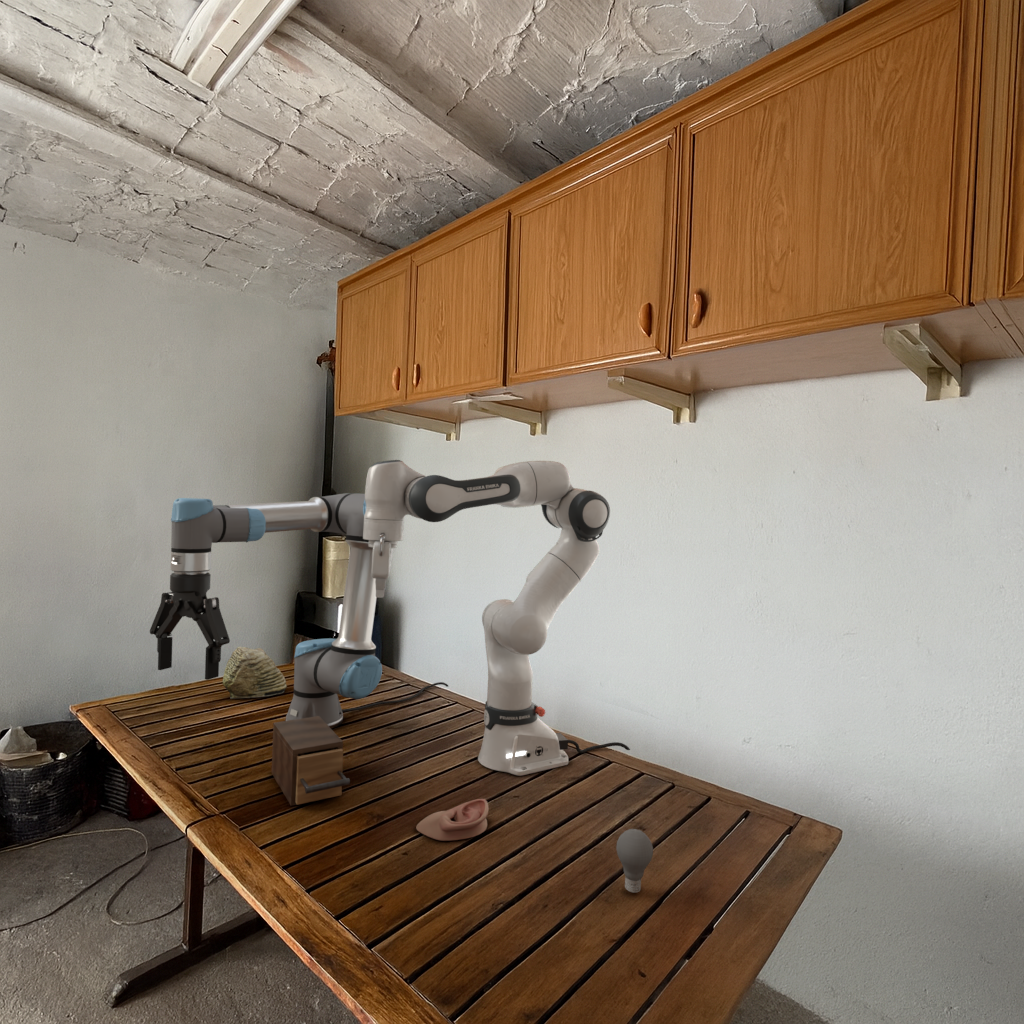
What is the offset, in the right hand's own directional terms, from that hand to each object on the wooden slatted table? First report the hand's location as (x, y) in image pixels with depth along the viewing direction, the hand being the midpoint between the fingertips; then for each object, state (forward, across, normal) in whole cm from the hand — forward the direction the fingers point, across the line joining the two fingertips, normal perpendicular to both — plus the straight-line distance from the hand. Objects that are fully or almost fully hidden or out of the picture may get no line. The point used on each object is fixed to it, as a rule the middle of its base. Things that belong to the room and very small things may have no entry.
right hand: (380, 593), depth 142 cm
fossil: (+42, +63, +39) cm, 86 cm away
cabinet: (+42, 0, +14) cm, 45 cm away
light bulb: (+42, -45, -45) cm, 76 cm away
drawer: (+41, -6, +12) cm, 43 cm away
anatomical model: (+42, -22, -16) cm, 50 cm away
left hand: (+17, -3, +39) cm, 42 cm away
